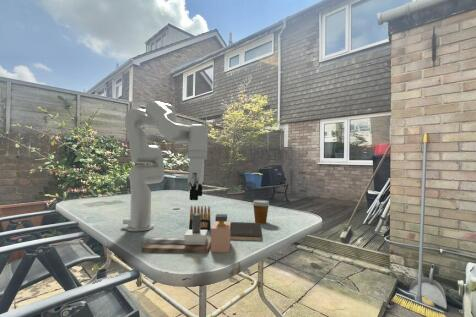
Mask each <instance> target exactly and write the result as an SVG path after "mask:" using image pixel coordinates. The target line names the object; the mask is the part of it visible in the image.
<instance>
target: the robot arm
mask: <svg viewBox="0 0 476 317" xmlns="http://www.w3.org/2000/svg"><path fill="white" fill-rule="evenodd" d="M176 113H177V112H176V109H175V107H174V106H173V105H171V104H169V103H165V102H161V101H157V100H152V101H148V102H147V103H146V104H145V107H144V109H143V108H138V107H137V108H130V109H128V110H127V112H126V113H125V117H124V126H125V129H126V132H127V135H128V144H129V153H130V154H129V155H130V160H131V162H133V163H134V164H136V163H137V164H141V165H135V166H132V167H130V169H129V172H128V179H129V183H130V184H129V185H130V214H129V216H130V218H129V219H122V225H127V226H126V231H128V232H136V233H137V232H138V233H139V232H146V231H150V230H153V229H154V226H155V224H154V223H151V218H152V216H151V215H152V214H151V213H152V191H151V189H150V188H149V186H148V185H149V184H151V185H152V184H158V183H159V184H160V183H161V182H163V180H164V179H165V167H164V166H165V165H164V156H163V152H162V149H161V148H160V147H159V146H158V145H153V144H151V145H150V144H148V137H147V134H146V132H145V131H144V129H143V128H141V127H146V128H153V129H157V128H158V132H159V134H160V135H161V136H162V137H163V138H165V139H166V140H167V141H169V142H172V143H181V144H182V143H183V144H188V145H187V146H188V148H187V150H188V152H187V159H188V160H189V162H188V171H187V184H188V185H189V201H198V200H199V197H202V196H203V182H204V175H205V160H208V159H207V158H208V138H209V137H208V136H209V132H208V131H209V129H208V126H207V125H205V124H190V125H188V124H182V123H176V122H177V117H176ZM143 164H144V165H143ZM145 164H146V165H145ZM148 164H150V165H148Z"/></svg>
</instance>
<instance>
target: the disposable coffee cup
mask: <svg viewBox="0 0 476 317" xmlns="http://www.w3.org/2000/svg"><path fill="white" fill-rule="evenodd" d="M252 206H253V214H254V223H263V224H266V223H267V220H268V212H269V206H270V201H269V200H266V199H254V200H253V202H252Z"/></svg>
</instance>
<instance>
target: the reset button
mask: <svg viewBox="0 0 476 317" xmlns="http://www.w3.org/2000/svg"><path fill="white" fill-rule="evenodd" d="M214 222H219V226H224V222H228V214H227V213H226V214H225V213H224V214H222V213H216V214H215V220H214Z"/></svg>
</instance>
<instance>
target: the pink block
mask: <svg viewBox="0 0 476 317" xmlns="http://www.w3.org/2000/svg"><path fill="white" fill-rule="evenodd" d="M231 222H232V221H227V222H225V221H224V226H219V221H213V223H212V224H211V225H212V226H211V230H210V239H211V245H210V253H230V249H231V248H230V246H231V239H230V225H231Z"/></svg>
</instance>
